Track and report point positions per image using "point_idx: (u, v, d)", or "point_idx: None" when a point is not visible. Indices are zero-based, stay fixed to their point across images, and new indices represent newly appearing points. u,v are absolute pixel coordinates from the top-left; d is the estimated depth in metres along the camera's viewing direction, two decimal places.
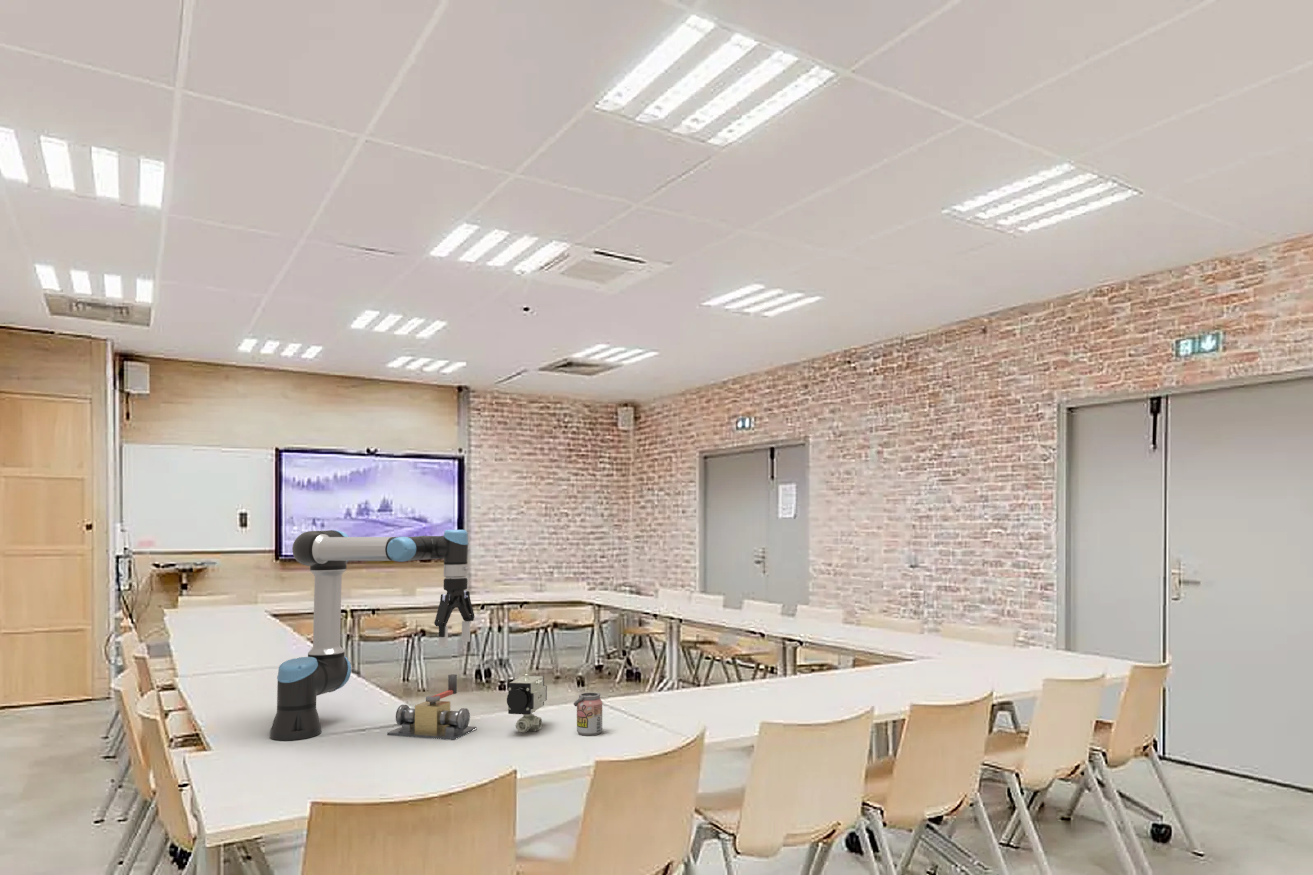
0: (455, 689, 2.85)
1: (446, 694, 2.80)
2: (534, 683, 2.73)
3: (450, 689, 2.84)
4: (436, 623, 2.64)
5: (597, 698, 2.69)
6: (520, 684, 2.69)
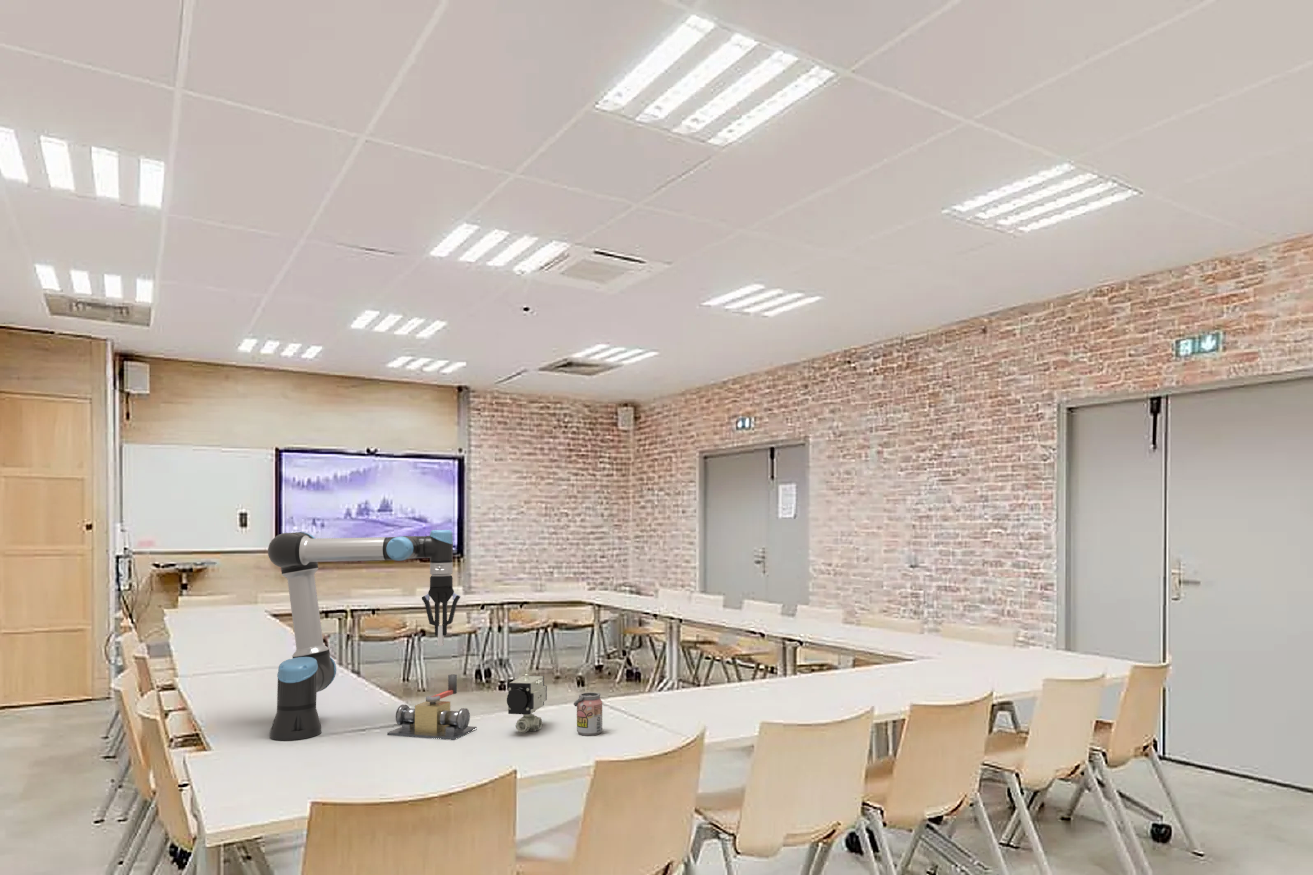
0: (455, 689, 2.85)
1: (446, 694, 2.80)
2: (534, 683, 2.73)
3: (450, 689, 2.84)
4: None
5: (597, 698, 2.69)
6: (520, 684, 2.69)
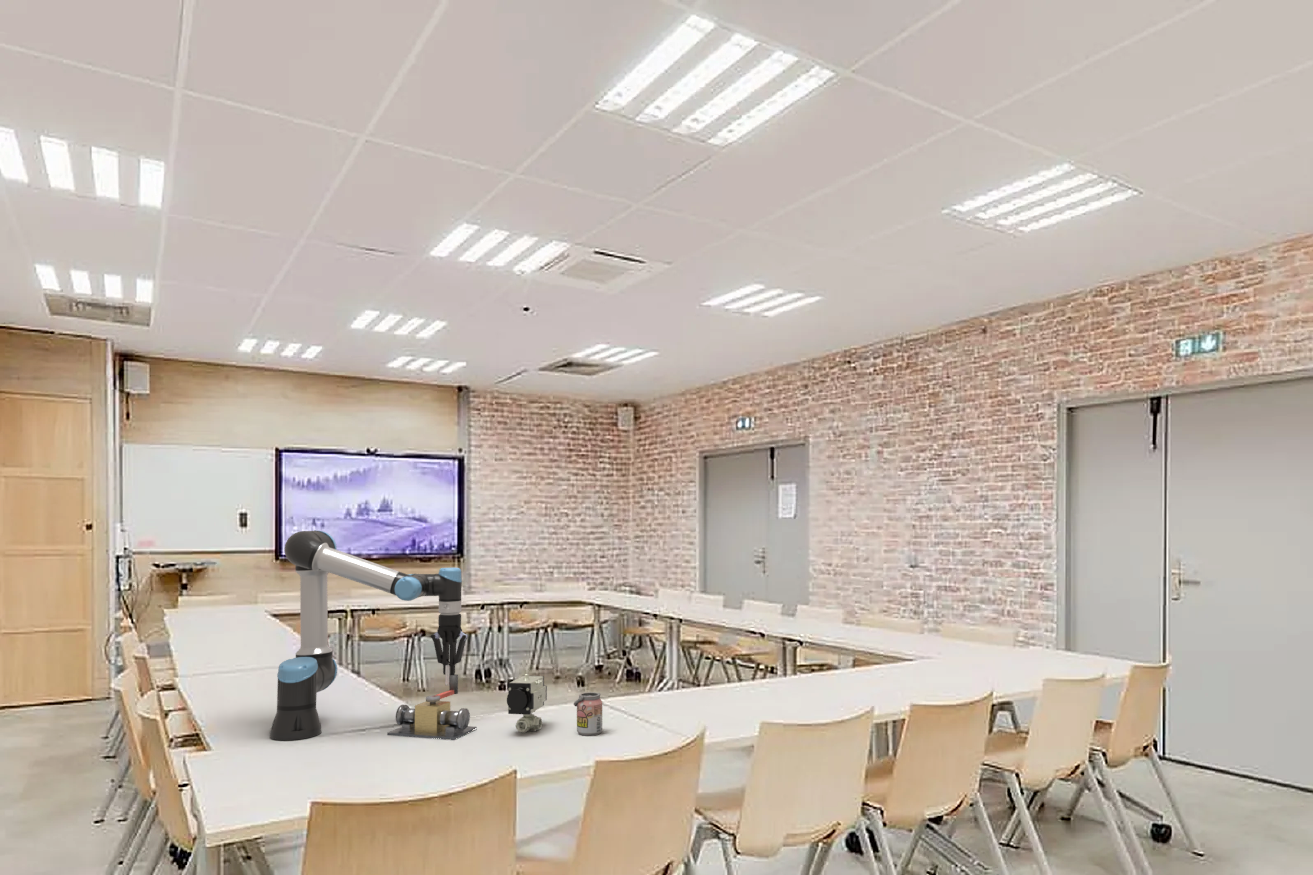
0: (456, 689, 2.85)
1: (447, 694, 2.80)
2: (534, 683, 2.73)
3: (451, 689, 2.84)
4: None
5: (597, 698, 2.69)
6: (520, 684, 2.69)
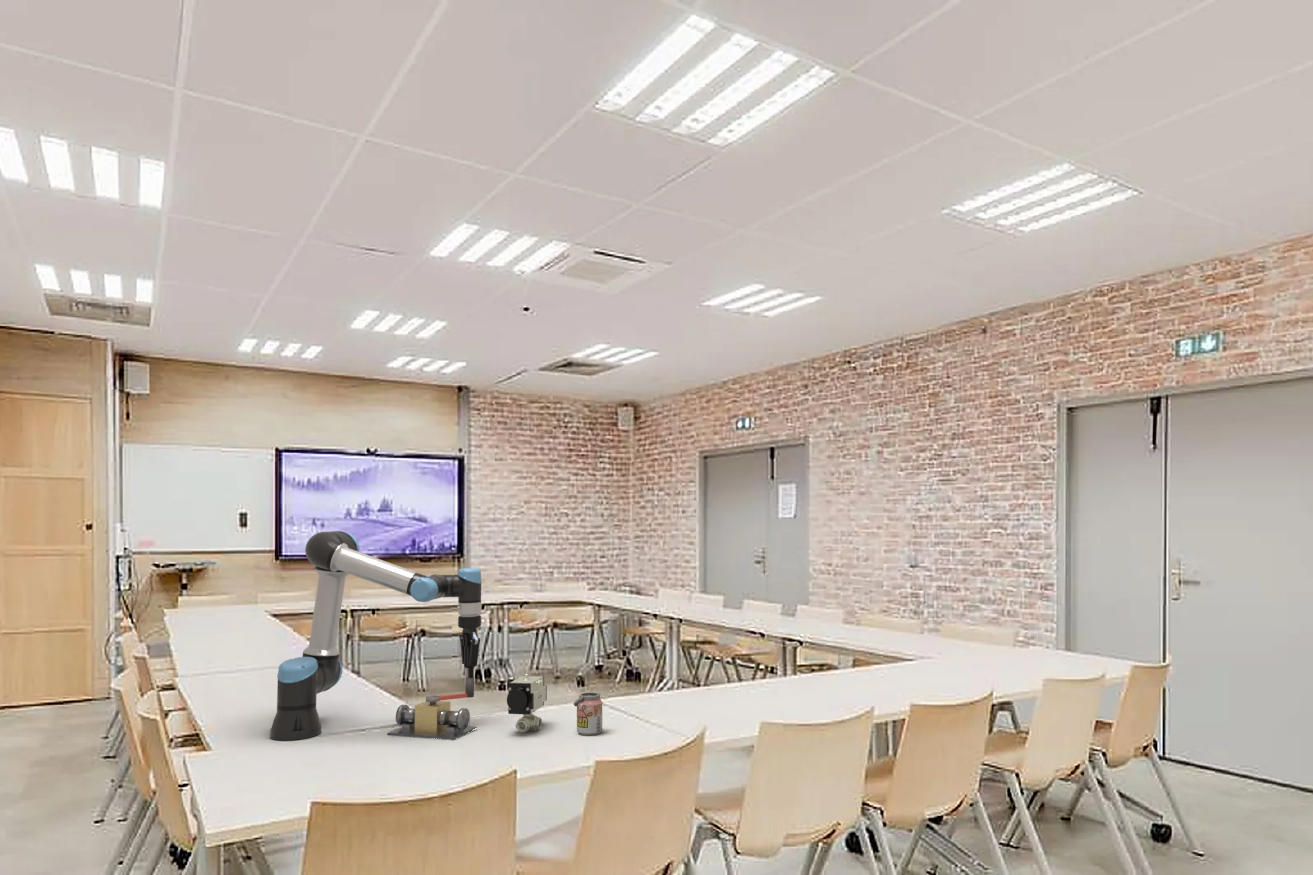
0: (470, 693, 2.79)
1: (454, 696, 2.77)
2: (534, 683, 2.73)
3: (465, 692, 2.79)
4: None
5: (597, 698, 2.69)
6: (520, 684, 2.69)
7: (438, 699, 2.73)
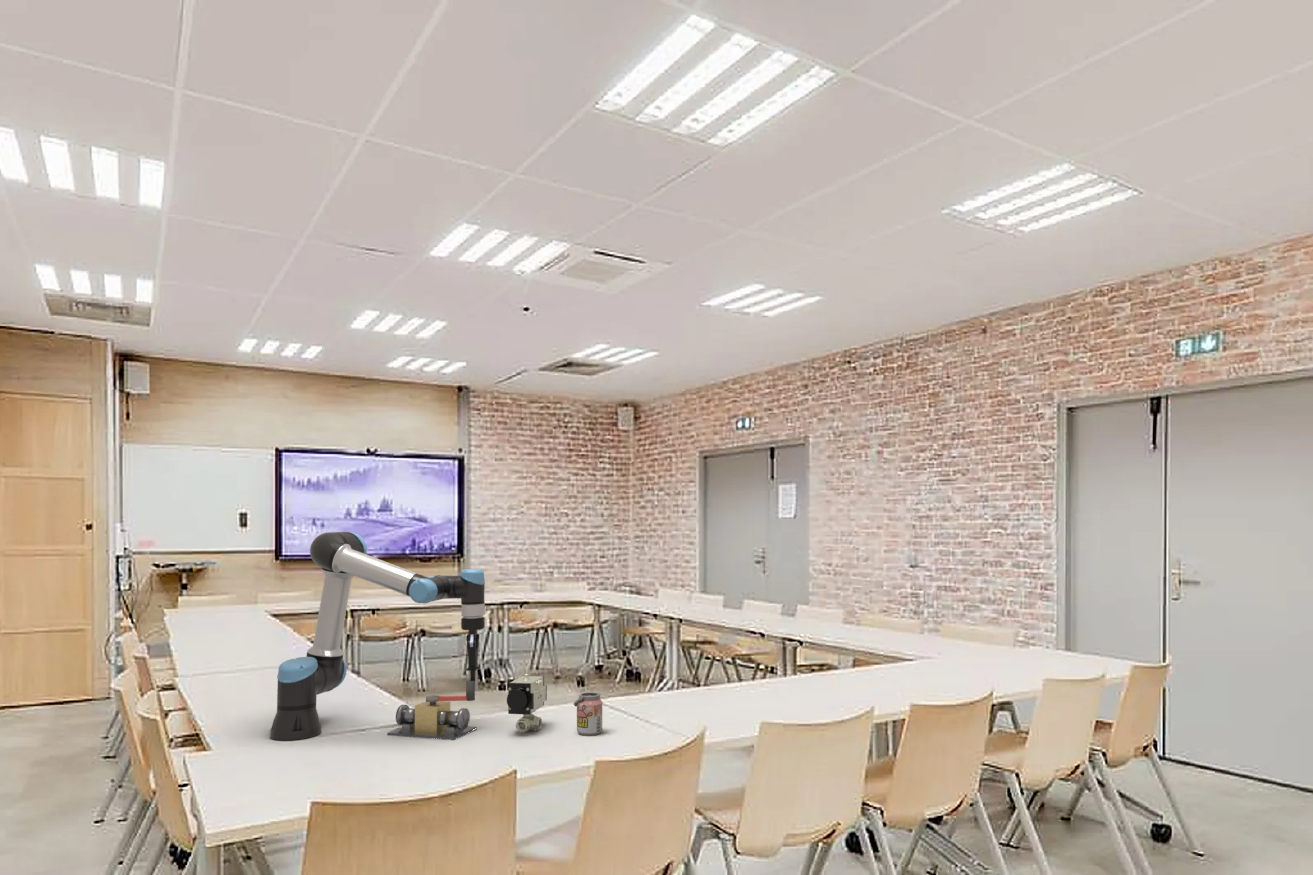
0: (468, 696, 2.73)
1: (453, 698, 2.74)
2: (534, 683, 2.73)
3: (466, 695, 2.75)
4: None
5: (597, 698, 2.69)
6: (520, 684, 2.69)
7: (436, 700, 2.73)
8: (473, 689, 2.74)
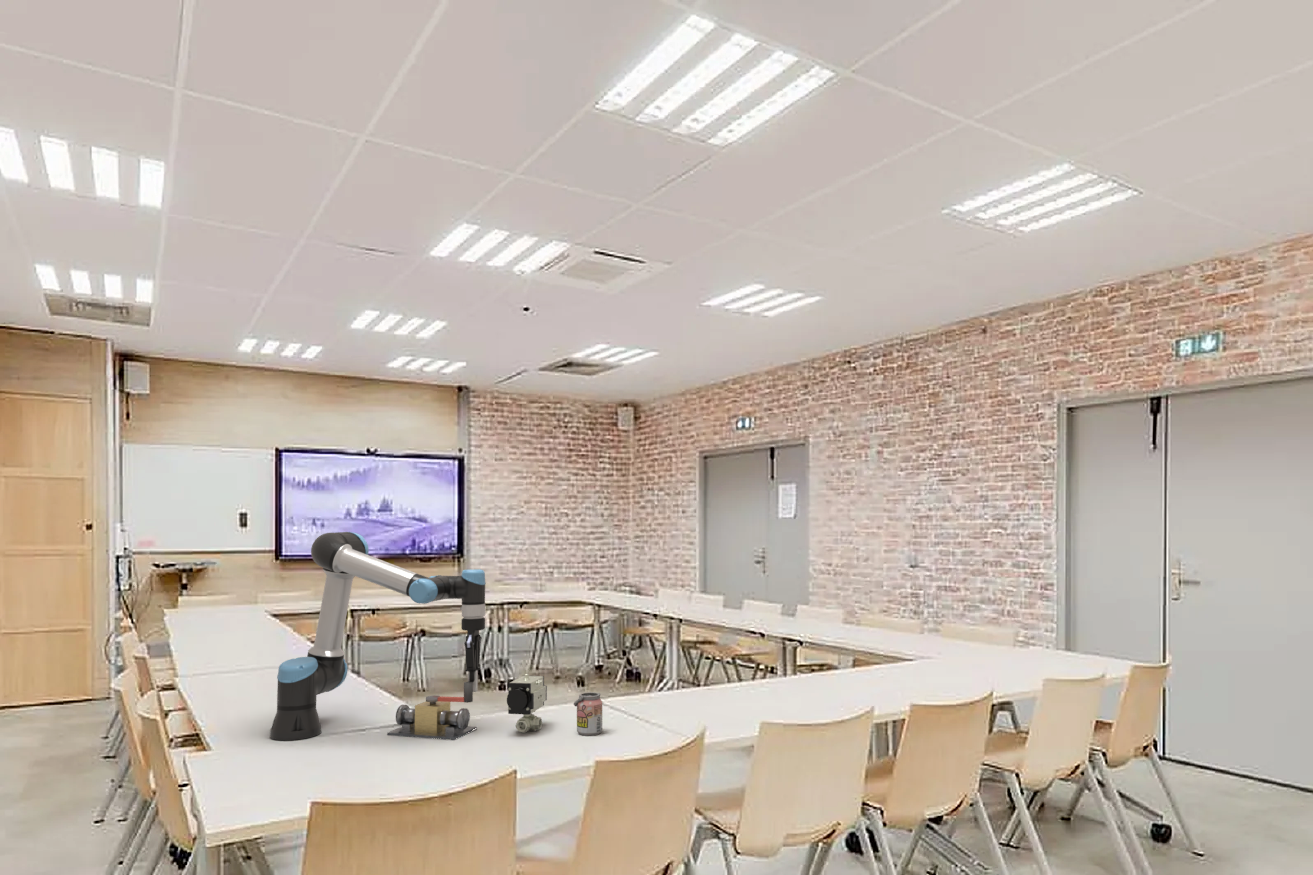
0: (465, 698, 2.71)
1: (451, 699, 2.72)
2: (534, 683, 2.73)
3: None
4: None
5: (597, 698, 2.69)
6: (520, 684, 2.69)
7: (434, 700, 2.72)
8: (470, 691, 2.72)
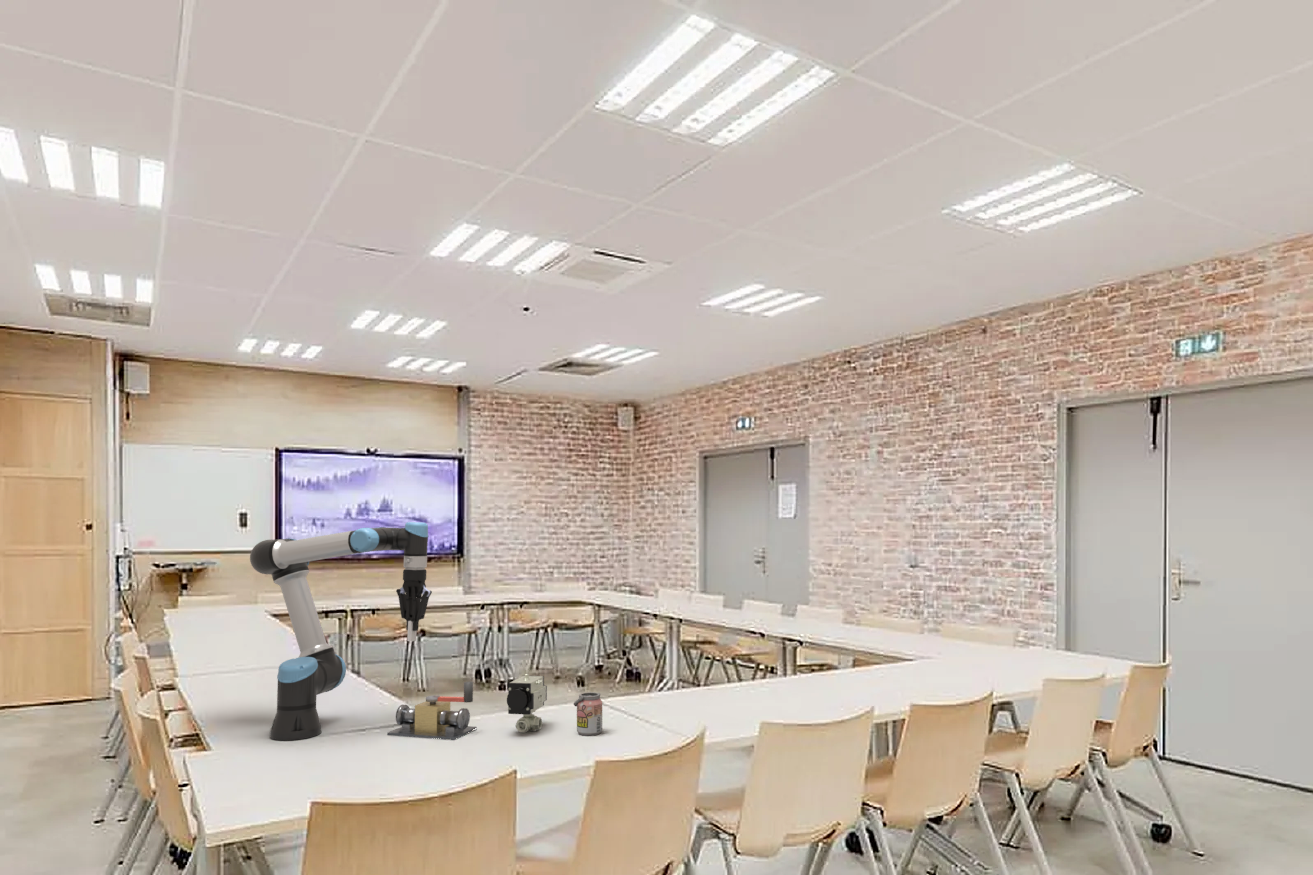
0: (465, 697, 2.71)
1: (451, 699, 2.72)
2: (534, 683, 2.73)
3: None
4: None
5: (597, 698, 2.69)
6: (520, 684, 2.69)
7: (434, 700, 2.72)
8: (470, 691, 2.72)
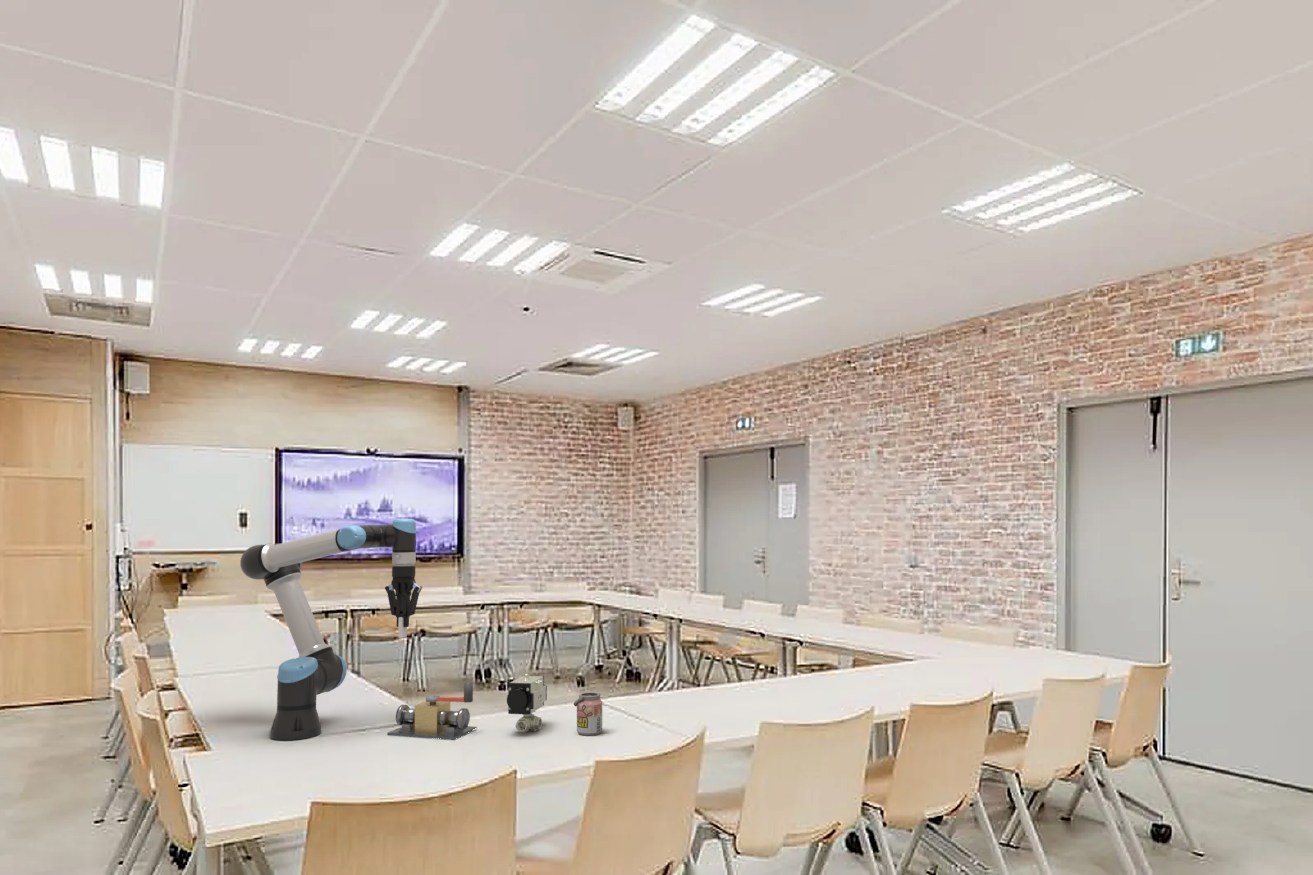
0: (465, 697, 2.71)
1: (451, 699, 2.72)
2: (534, 683, 2.73)
3: None
4: None
5: (597, 698, 2.69)
6: (520, 684, 2.69)
7: (434, 700, 2.72)
8: (470, 691, 2.72)
